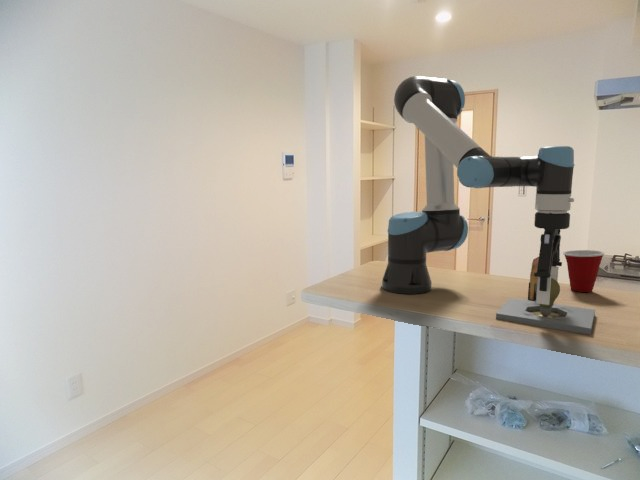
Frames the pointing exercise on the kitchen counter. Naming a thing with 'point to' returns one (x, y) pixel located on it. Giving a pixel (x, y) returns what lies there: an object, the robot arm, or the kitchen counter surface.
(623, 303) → the kitchen counter surface
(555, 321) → the socket plate
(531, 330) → the kitchen counter surface
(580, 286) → the plastic cup
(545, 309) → the light bulb
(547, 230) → the robot arm
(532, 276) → the ammunition clip
